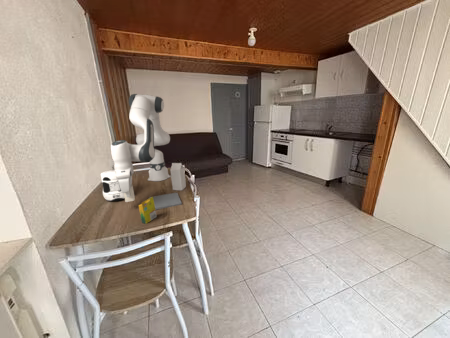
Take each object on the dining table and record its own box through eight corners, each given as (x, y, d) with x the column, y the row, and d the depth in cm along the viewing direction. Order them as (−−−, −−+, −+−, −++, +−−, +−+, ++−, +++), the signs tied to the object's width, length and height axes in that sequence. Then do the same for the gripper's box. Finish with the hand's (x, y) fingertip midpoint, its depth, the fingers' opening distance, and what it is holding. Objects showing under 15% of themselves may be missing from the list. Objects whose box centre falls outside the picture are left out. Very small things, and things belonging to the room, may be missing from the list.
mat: (148, 198, 121) (148, 197, 120) (177, 193, 127) (177, 192, 127) (149, 211, 105) (148, 209, 104) (181, 204, 111) (181, 202, 111)
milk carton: (182, 190, 132) (179, 164, 127) (172, 190, 134) (169, 164, 128) (186, 186, 139) (183, 161, 134) (177, 186, 140) (174, 161, 135)
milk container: (124, 190, 137) (119, 167, 132) (139, 194, 128) (134, 169, 123) (99, 200, 123) (92, 173, 118) (114, 205, 114) (107, 177, 109)
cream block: (126, 198, 107) (123, 185, 105) (134, 197, 109) (132, 184, 107) (125, 202, 103) (122, 188, 101) (134, 200, 105) (131, 187, 103)
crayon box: (152, 215, 100) (149, 195, 96) (157, 216, 98) (153, 196, 95) (141, 223, 93) (137, 201, 90) (145, 224, 92) (141, 202, 89)
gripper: (120, 167, 110) (124, 189, 114) (115, 177, 91) (120, 202, 95) (132, 165, 112) (136, 187, 116) (129, 175, 94) (134, 200, 97)
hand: (129, 194), depth 105 cm, fingers closed on cream block, 4 cm apart
